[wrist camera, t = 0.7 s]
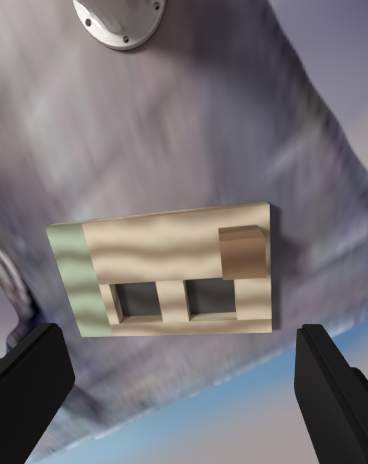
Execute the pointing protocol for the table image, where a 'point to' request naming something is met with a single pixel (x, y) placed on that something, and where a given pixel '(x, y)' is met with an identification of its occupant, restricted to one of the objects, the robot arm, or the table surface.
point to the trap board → (161, 273)
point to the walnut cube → (242, 252)
